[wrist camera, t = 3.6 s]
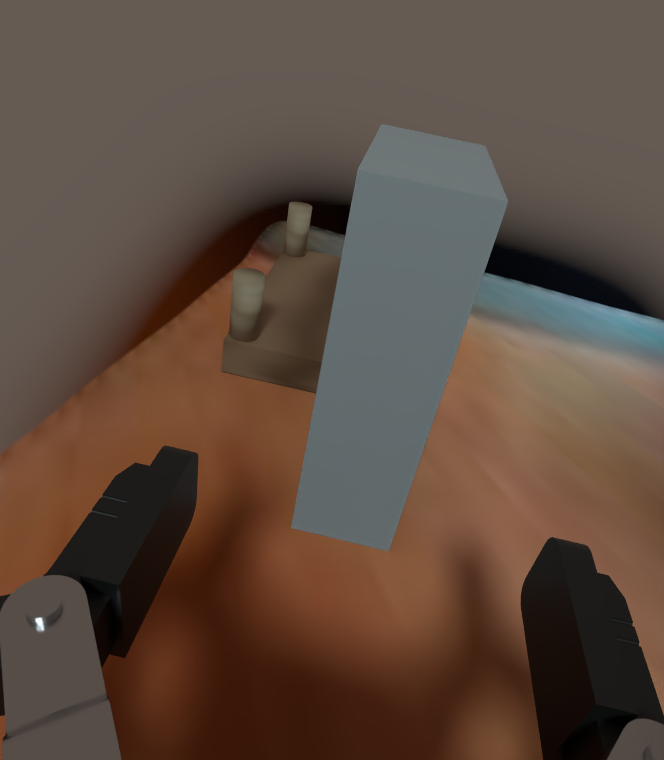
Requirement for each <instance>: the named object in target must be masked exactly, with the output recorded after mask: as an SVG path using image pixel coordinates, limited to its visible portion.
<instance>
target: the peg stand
mask: <svg viewBox="0 0 664 760" xmlns="http://www.w3.org/2000/svg"><path fill="white" fill-rule="evenodd" d="M311 211H312V206H311V205H309V204H306V203H302V202H291V203H290V204H289V211H288V219H287V227H286V235H285V243H284V251H283V252H282V254H281V255H280V257H279V258H278V260H277V261H276V263H275V264H274V266H273V267H272V269H271V270H270V272H269V273H268V275H267V276H266V278H265V275H264V273H262V272H261V271H258V270H255V269H251V268H241V269H237V270H235V271H234V273H233V285H232V299H231V313H230V326H229V333H228V335H227V336H226V337H225V339H224V345H223V360H222V372H227V373H231V374H235V375H240V376H244V377H248V378H253V379H257V380H262V381H266V382H270V383H275V384H279V385H283V386H288V387H292V388H297V389H301V390H305V391H310V392H314V393H316V392H317V386H318V381H319V376H320V370H321V365H322V359H323V354H324V349H325V343H326V338H327V333H328V327H329V322H330V317H331V311H332V306H333V301H334V295H335V290H336V284H337V279H338V274H339V268H340V263H341V258H339V257H335V256H330V255H325V254H321V253H316V252H312V251H307V250H306V245H307V238H308V232H309V225H310V218H311Z"/></svg>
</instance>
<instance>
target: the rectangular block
mask: <svg viewBox="0 0 664 760" xmlns="http://www.w3.org/2000/svg"><path fill="white" fill-rule="evenodd" d="M507 203H508V200H507V197H506V195H505V193H504V190H503V188H502V185H501V183H500V181H499V178H498V176H497V173H496V171H495V169H494V166H493V164H492V161H491V159H490V156H489V154H488V152H487V149H486V147H485V146H483V145H479V144H474V143H469V142H464V141H460V140H455V139H450V138H445V137H440V136H436V135H431V134H426V133H421V132H417V131H412V130H407V129H403V128H398V127H393V126H388V125H384V124H382V125H381V127H380V129H379V131H378V133H377V134H376V136H375V138H374V140H373V142H372V144H371V146H370V148H369V150H368V152H367V153H366V155H365V157H364V159H363V161H362V163H361V165H360V167H359V168H358V172H357V177H356V183H355V188H354V194H353V199H352V205H351V209H350V215H349V220H348V225H347V231H346V236H345V242H344V247H343V252H342V258H341V263H340V268H339V274H338V279H337V284H336V290H335V295H334V301H333V306H332V311H331V317H330V322H329V327H328V333H327V338H326V343H325V349H324V354H323V359H322V365H321V370H320V376H319V381H318V386H317V392H316V397H315V402H314V408H313V413H312V418H311V424H310V429H309V435H308V440H307V445H306V451H305V456H304V461H303V467H302V472H301V477H300V483H299V488H298V493H297V499H296V504H295V510H294V515H293V520H292V526H291V528H294V529H298V530H302V531H306V532H310V533H315V534H319V535H323V536H327V537H331V538H335V539H340V540H344V541H348V542H352V543H356V544H360V545H365V546H369V547H373V548H377V549H381V550H385V551H389V549H390V546H391V543H392V540H393V537H394V534H395V532H396V529H397V526H398V523H399V520H400V517H401V514H402V511H403V508H404V505H405V502H406V499H407V496H408V493H409V491H410V488H411V485H412V482H413V479H414V476H415V473H416V470H417V467H418V464H419V461H420V458H421V455H422V452H423V450H424V447H425V444H426V441H427V438H428V435H429V432H430V429H431V426H432V423H433V420H434V417H435V414H436V411H437V408H438V406H439V403H440V400H441V397H442V394H443V391H444V388H445V385H446V382H447V379H448V376H449V373H450V370H451V367H452V365H453V362H454V359H455V356H456V353H457V350H458V347H459V344H460V341H461V338H462V335H463V332H464V329H465V326H466V324H467V321H468V318H469V315H470V312H471V309H472V306H473V303H474V300H475V297H476V294H477V291H478V288H479V285H480V283H481V280H482V277H483V274H484V271H485V268H486V265H487V262H488V259H489V256H490V253H491V250H492V247H493V244H494V241H495V239H496V236H497V232H498V230H499V227H500V224H501V221H502V218H503V215H504V212H505V209H506V206H507Z"/></svg>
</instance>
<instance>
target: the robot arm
mask: <svg viewBox="0 0 664 760" xmlns="http://www.w3.org/2000/svg"><path fill="white" fill-rule="evenodd" d="M197 478H198V454H197V453H195V452H191V451H187V450H182V449H178V448H174V447H170V446H164V447H162V448H161V450H160V451H159V453H158V454H157V456H156V457H155V459H154V461H153V462H152V464H151V465H150V466H148V465H143V464H139V463H134V464H133V465H131V466H130V467H128V468H127V469H125V470H124V471H122V472H121V473H119V474H118V475H117V476H115V478H114V479H113V480H112V482H111V483H110V485H109V486H108V487H107V489H106V490H105V492H104V493H103V496H102V498H100V499H99V500H98V502H97V503H96V504H95V506H94V507H93V509H92V512H91V513H89V514H88V516H87V517H86V519H85V520H84V521H83V523H82V524H81V526H80V527H79V529H78V530H77V531H76V533H75V534H74V536H73V537H72V538H71V540H70V541H69V543H68V544H67V546H66V547H65V548H64V550H63V551H62V553H61V554H60V555H59V557H58V558H57V560H56V561H55V563H54V564H53V565H52V567H51V568H50V569H49V571H48V572H47V573H46V574H45V575H44V576H43V577H39V578H36V579H33V580H31V581H29V582H27V583H25V584H23V585H22V586H20V587H19V588H18V589H16V590H15V591H14V592H13V593H12V594H9V595H4V596H0V716H2V715H5V721H6V734H5V736H4V738H3V745H2V755H3V760H121V755H120V750H119V745H118V740H117V735H116V730H115V725H114V720H113V716H112V711H111V706H110V702H109V698H108V696H107V693H106V689H105V684H104V680H103V675H102V670H101V669H102V667H103V665H104V663H105V661H106V659H107V657H108V655H109V654H111V655H115V656H119V657H123V658H125V657H126V655H127V653H128V651H129V649H130V647H131V645H132V643H133V641H134V638H135V636H136V634H137V632H138V630H139V628H140V626H141V624H142V622H143V620H144V618H145V616H146V614H147V612H148V610H149V608H150V606H151V604H152V602H153V600H154V598H155V595H156V593H157V591H158V589H159V587H160V585H161V583H162V581H163V579H164V577H165V575H166V573H167V571H168V569H169V567H170V565H171V563H172V561H173V559H174V557H175V555H176V552H177V550H178V548H179V546H180V544H181V542H182V540H183V538H184V536H185V534H186V532H187V530H188V528H189V526H190V523H191V521H192V518H193V515H194V511H195V506H196V500H197ZM521 611H522V618H523V625H524V632H525V638H526V645H527V652H528V659H529V666H530V672H531V679H532V686H533V693H534V700H535V706H536V713H537V720H538V727H539V734H540V740H541V747H542V754H543V760H664V715H663V712H662V709H661V706H660V703H659V700H658V697H657V694H656V691H655V688H654V685H653V682H652V679H651V676H650V673H649V670H648V666H647V663H646V660H645V657H644V654H643V651H642V648H641V647H639V639H638V636H637V633H636V630H635V627H633V626H632V623H633V621H632V618H631V615H630V612H629V609H628V606H627V603H626V600H625V598H624V596H623V595H622V594H621V592H620V591H619V589H618V588H617V587H616V585H615V584H614V582H613V581H612V580H611V578H610V577H609V576H608V575H604V574H600V573H597V570H596V567H595V563H594V560H593V557H592V553H591V551H590V549H589V547H588V546H586V545H583V544H579V543H574V542H570V541H566V540H562V539H557V538H553V537H552V538H549V539H548V540H547V542H546V543H545V545H544V547H543V548H542V550H541V552H540V554H539V555H538V557H537V559H536V561H535V563H534V564H533V566H532V568H531V570H530V571H529V573H528V575H527V577H526V578H525V581H524V583H523V587H522V592H521Z"/></svg>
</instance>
